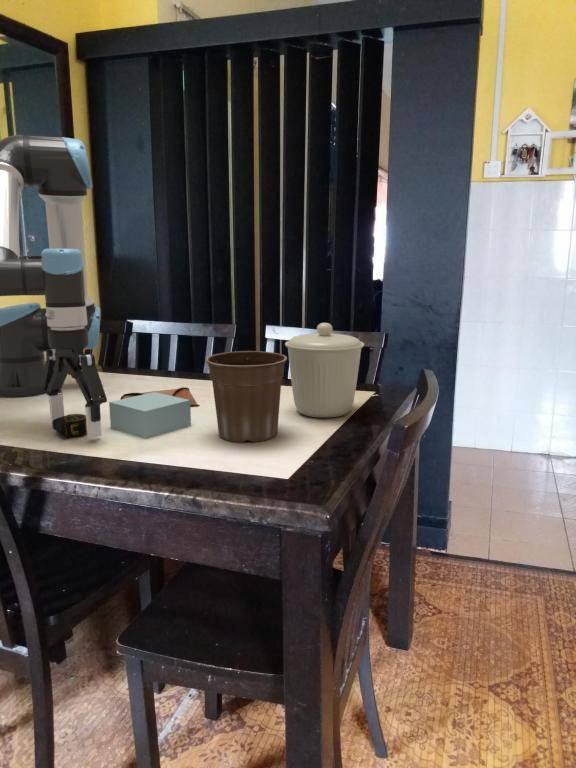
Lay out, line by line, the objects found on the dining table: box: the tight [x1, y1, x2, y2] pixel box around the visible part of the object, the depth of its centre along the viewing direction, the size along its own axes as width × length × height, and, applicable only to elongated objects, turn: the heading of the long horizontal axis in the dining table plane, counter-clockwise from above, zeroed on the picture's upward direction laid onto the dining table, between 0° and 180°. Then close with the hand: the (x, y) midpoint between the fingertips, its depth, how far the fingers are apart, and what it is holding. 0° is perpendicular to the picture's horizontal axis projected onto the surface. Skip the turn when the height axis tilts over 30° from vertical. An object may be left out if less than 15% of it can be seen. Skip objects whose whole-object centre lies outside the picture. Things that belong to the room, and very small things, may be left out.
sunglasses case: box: [119, 386, 200, 408], centre depth 145 cm, size 18×7×7 cm
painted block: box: [108, 391, 192, 440], centre depth 128 cm, size 12×12×6 cm
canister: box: [284, 322, 365, 419], centre depth 137 cm, size 18×18×21 cm
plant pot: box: [205, 350, 288, 443], centre depth 121 cm, size 16×16×16 cm
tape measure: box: [51, 413, 87, 438], centre depth 123 cm, size 7×7×4 cm
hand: (75, 430), depth 123 cm, fingers open, 13 cm apart
